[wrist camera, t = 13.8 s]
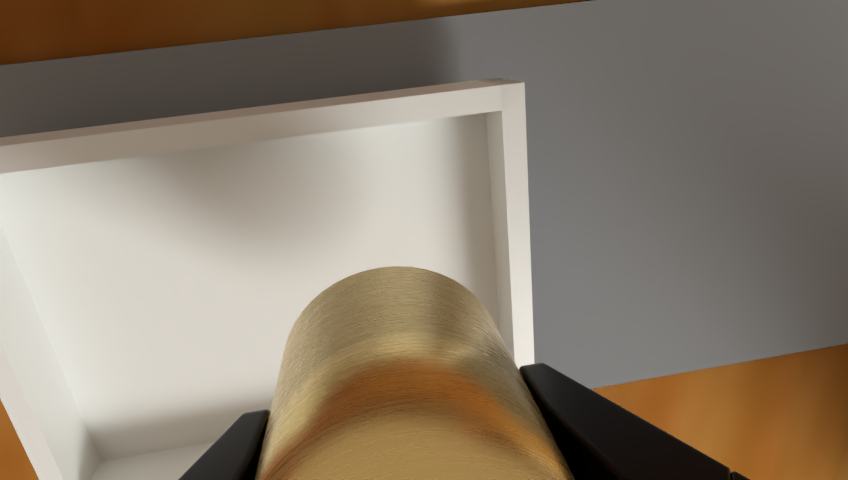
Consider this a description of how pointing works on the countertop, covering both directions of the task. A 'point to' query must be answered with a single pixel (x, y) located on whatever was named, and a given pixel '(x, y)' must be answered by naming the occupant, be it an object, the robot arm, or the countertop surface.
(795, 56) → the lane mat
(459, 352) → the small wooden cylinder
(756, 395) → the countertop surface
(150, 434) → the white shallow tray
